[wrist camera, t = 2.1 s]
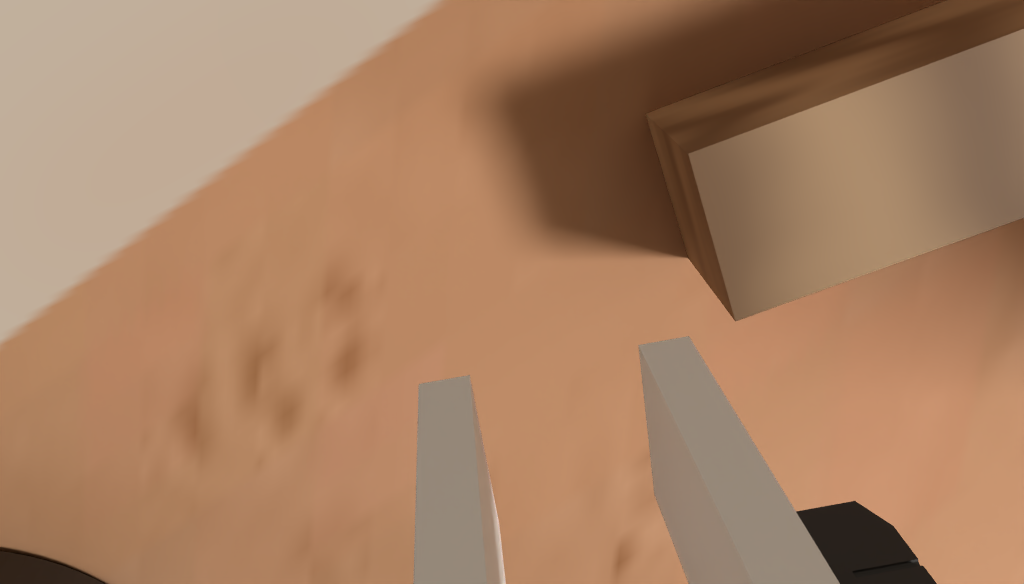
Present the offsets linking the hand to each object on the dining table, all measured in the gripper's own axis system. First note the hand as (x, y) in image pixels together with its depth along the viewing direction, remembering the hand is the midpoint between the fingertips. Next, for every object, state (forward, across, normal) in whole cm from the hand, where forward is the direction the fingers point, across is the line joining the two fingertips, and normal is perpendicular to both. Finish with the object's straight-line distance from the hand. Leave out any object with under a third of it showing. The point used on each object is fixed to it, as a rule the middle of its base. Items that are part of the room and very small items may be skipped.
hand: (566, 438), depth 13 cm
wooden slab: (+15, +12, 0) cm, 19 cm away
